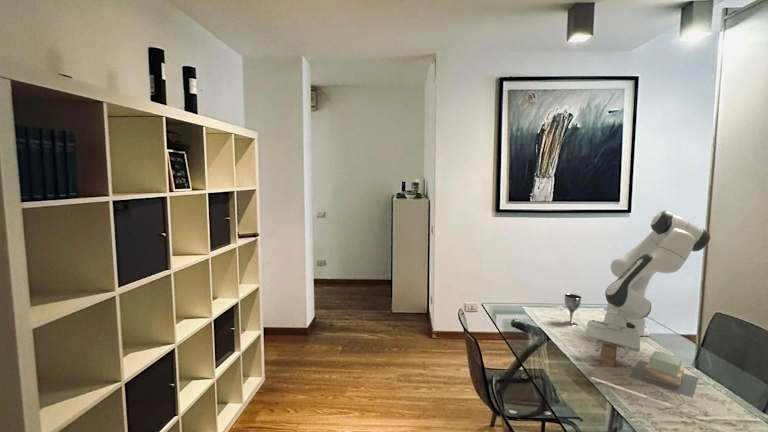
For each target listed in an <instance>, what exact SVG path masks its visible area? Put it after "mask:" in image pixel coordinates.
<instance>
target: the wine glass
mask: <svg viewBox="0 0 768 432" xmlns="http://www.w3.org/2000/svg"><path fill="white" fill-rule="evenodd" d="M581 302H582V296H580V295H578V294H574V293H565V294H564V305H565V308H566V309H567V310H568V312H569V315H570V316H569V320H564V321H563V324H564V325H567V326H571V327H577V326H578V325H579V323H577V322H575V321H572V320H573V314H574V313H575V312H576V311H577V310H579V308H580V306H581Z"/></svg>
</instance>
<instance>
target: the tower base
mask: <svg viewBox="0 0 768 432" xmlns="http://www.w3.org/2000/svg"><path fill="white" fill-rule="evenodd" d="M649 363H650V360H648V364H647V365H646V367H645V376H644V377H647V378H650V379H653V380H656V381H659V382H662V383H665V384H668V385H671V386H675V387H678V388H679V387H680V384H681V382H682V379H683V374H684V372H685V367H683V366H681V368H680V371H679V373H678V376H676V375H673V374H670V373H666V372H663V371H660V370H657V369H653V368H650V367H649Z"/></svg>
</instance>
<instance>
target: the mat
mask: <svg viewBox="0 0 768 432" xmlns="http://www.w3.org/2000/svg"><path fill="white" fill-rule="evenodd" d="M648 362H649V361H648ZM648 362H647V361H644V360H641V359H639V360H638V361H637V362H636V365H635V366H634V368H633V369H632V370H631V372H630V373H629V375H628V378H631V379H635V380H637V381H641V382H643V383H646V384H650V385H653V386H656V387H659V388H662V389H665V390H668V391H671V392H673V393H678V394H679V395H683V396H686V397H690V398H694V395H695V391H696V388H697V386H698V382H699V378H700V377H698V376H695V375H691V374H688V373H684V374H683V379H682V382H681V384H680V387H679V388H678V387H675V386H671V385H668V384H665V383H662V382H659V381H656V380H653V379H650V378H647V377H644V376H645V367H646V365H647V364H648Z"/></svg>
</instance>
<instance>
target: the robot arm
mask: <svg viewBox="0 0 768 432" xmlns="http://www.w3.org/2000/svg"><path fill="white" fill-rule="evenodd" d="M650 228H651V230H652V231H651V232H650V233H649V234H648V235H646V237H645V238H644V239H643V240H642V241H641V242H640V243H639V244H638V245H636V246H634V248H632V249H631V250H628V251H627V252H626V253H625V254H622V256H620V257H618V258H615V259H614V260H613V261H612V262H611V264H610V271H611V273H612V274H613V276H615V277H616V278H617V279H616V280H615V281H613V282H611V284H610V285H608V286H607V287H606V289H605V299H606V301H607V304H606V313H605V315H604V319H603V321H598V320H596V319H591V320H588V321H587V324H586V326H587V328H586V331H585V333H584V335H585V338H586V340H588V341H592V342H593V345H594V351H595V352H597V353H598V352H600V346H599V345H598V343H600V344H603V343H606V344H609V345H613V346H617V348H618V349H619V348H620V349H622V350H624V351H623V352H621V351H620V354H619V357H620V358H621V359H625V357H626V355H628V354H629V352H630V351H631V352H636V353H638V352H640V350H641V337H650V329H649V325H647V324H646V320H647V319H646V318H647V317H648V316H649V315H650V313H651V312H652V303H651V300H648V299H647V298H646V297H645V294H646V291H647V287H648V285H649V283H650V281H651V279H652V277H653V276H654V275H655V274H656V273H661V274H673V273H676V272H678V271H679V270H680V269H681V268H682V266H683V265H684V264H685V262H686V261H687V259H689V257H690V254H691V252H699V251H701V250H703V249H704V248H705V247H707V246H708V244H709V243H710V240H711V234H710V233H709V231H707V230H706V229H704V228H702V227H700V226H698V225H697V224H696V223H694V222H692V221H690V220H687V219H685V218H684V217H681V216H679V215H676V214H674V213H673V212H671V211H666V210H663V211H660V212H659V213H657V214H656V215H655V216H653V218H652V221H651V224H650Z"/></svg>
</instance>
